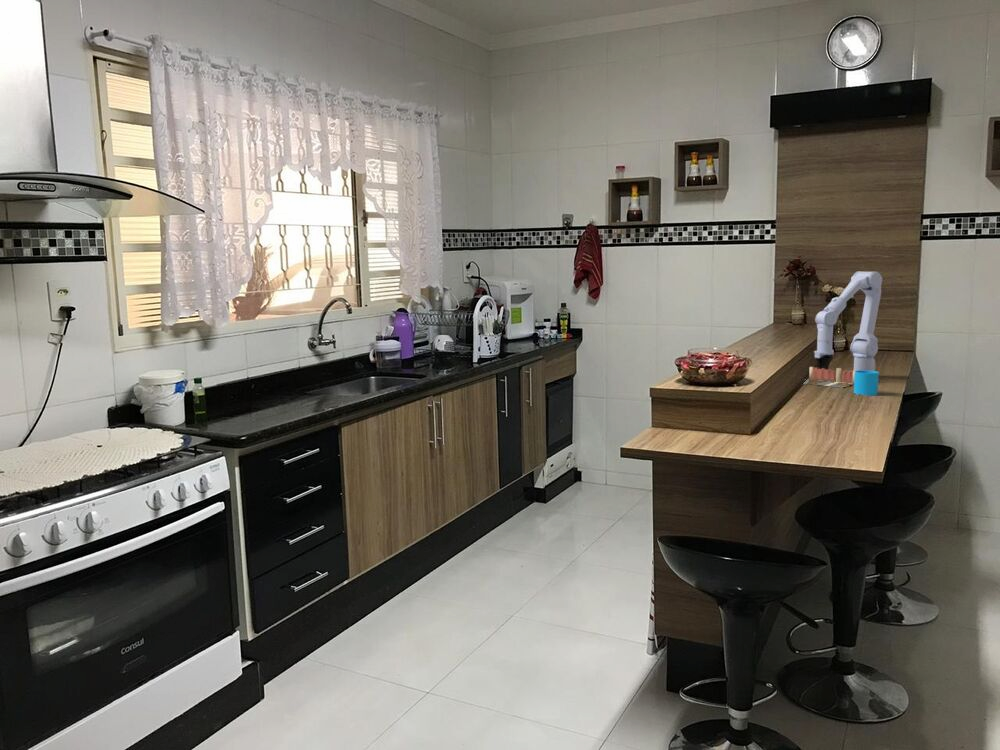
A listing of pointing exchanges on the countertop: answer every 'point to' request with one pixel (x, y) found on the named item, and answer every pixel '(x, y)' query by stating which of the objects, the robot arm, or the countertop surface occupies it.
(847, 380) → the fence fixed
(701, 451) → the countertop surface
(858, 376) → the mug
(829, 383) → the board
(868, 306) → the robot arm
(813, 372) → the fence panel
